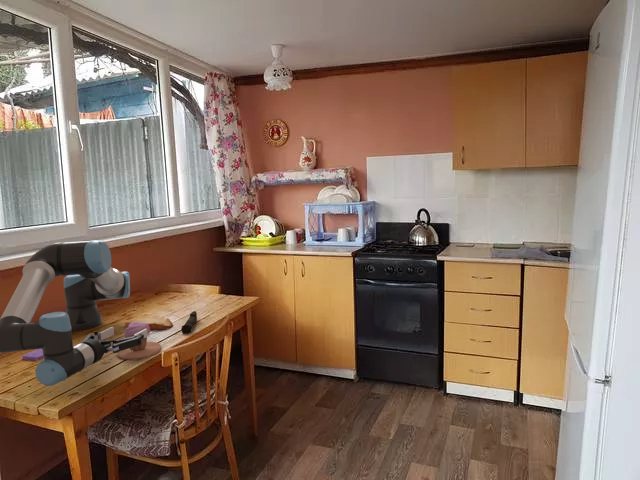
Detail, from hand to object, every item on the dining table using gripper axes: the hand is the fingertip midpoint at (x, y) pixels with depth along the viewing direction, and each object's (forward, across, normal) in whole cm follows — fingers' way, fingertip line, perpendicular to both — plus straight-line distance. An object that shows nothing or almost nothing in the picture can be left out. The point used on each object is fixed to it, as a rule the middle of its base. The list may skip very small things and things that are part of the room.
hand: (129, 331), depth 163 cm
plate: (+5, 0, -9) cm, 11 cm away
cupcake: (+5, -1, -9) cm, 10 cm away
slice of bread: (+31, -15, -10) cm, 36 cm away
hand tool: (+34, +3, -10) cm, 36 cm away
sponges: (-2, -35, -10) cm, 37 cm away
